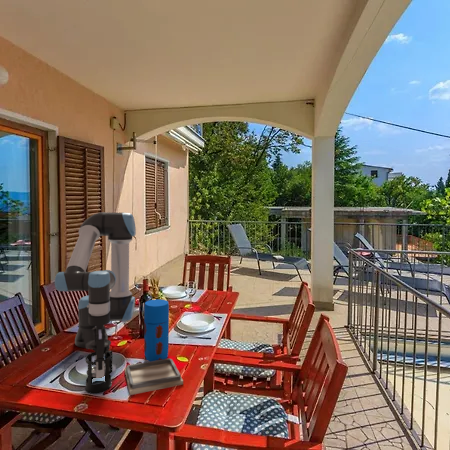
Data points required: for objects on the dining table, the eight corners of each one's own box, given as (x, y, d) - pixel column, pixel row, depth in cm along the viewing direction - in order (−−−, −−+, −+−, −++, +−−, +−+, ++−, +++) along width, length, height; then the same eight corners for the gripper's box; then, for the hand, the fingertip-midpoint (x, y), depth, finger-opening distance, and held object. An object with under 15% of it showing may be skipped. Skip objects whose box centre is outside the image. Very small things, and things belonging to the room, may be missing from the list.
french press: (97, 397, 120) (96, 334, 118) (78, 390, 124) (77, 330, 122) (120, 381, 131) (119, 324, 129) (101, 376, 134) (101, 320, 133)
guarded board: (124, 371, 138) (124, 364, 138) (171, 363, 146) (171, 356, 146) (130, 395, 122) (130, 387, 122) (183, 384, 130) (183, 377, 129)
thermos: (147, 363, 145) (147, 307, 144) (141, 353, 155) (141, 300, 153) (171, 359, 150) (172, 304, 149) (164, 349, 160) (164, 298, 158)
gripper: (88, 305, 134) (88, 360, 135) (89, 323, 114) (89, 387, 115) (107, 303, 137) (108, 357, 138) (112, 321, 117) (112, 383, 118)
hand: (99, 371), depth 126 cm, fingers closed on french press, 9 cm apart
